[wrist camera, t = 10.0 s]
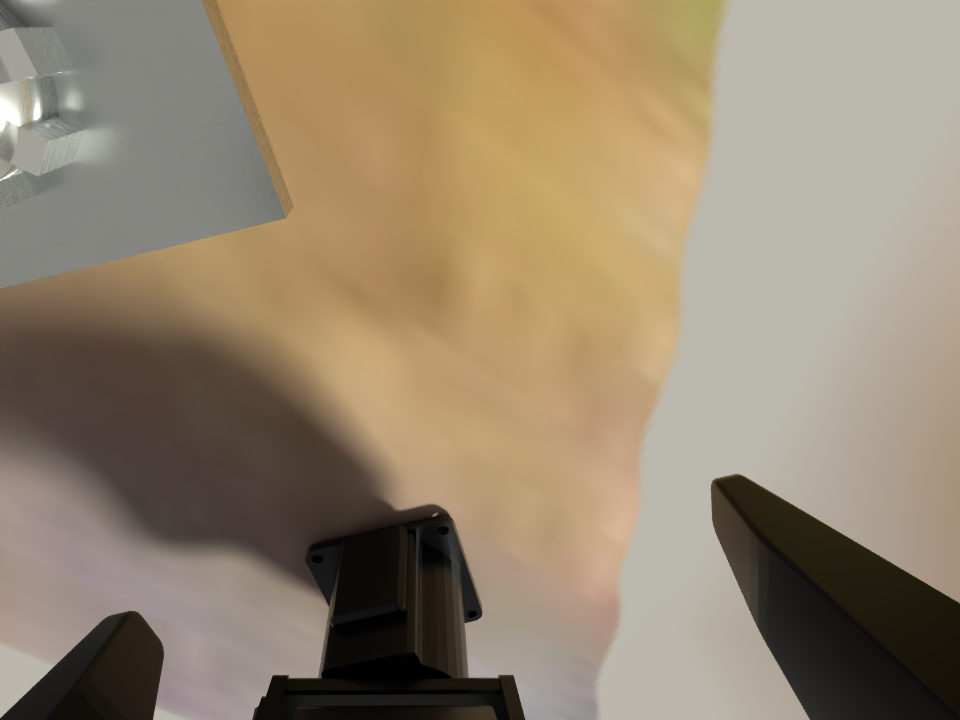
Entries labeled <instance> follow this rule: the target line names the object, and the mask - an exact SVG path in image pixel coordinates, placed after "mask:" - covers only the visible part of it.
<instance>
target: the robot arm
mask: <svg viewBox="0 0 960 720" xmlns="http://www.w3.org/2000/svg"><path fill="white" fill-rule="evenodd" d="M711 500H712V521H713V525H714V529H715V532H716V535H717V537H718V539H719V542H720V544H721V546H722V548H723V551H724V553H725V555H726V557H727V560H728V562H729V564H730V567H731V569H732V571H733V573H734V576H735V578H736V580H737V582H738V585H739V587H740V589H741V592H742V594H743V596H744V598H745V601H746V603H747V605H748V607H749V610H750V612H751V614H752V616H753V619H754V621H755V623H756V625H757V627H758V629H759V631H760V633H761V635H762V637H763V639H764V640H765V642H766V644H767V646H768V648H769V649H770V651H771V653H772V655H773V656H774V658H775V660H776V661H777V663H778V665H779V667H780V668H781V670H782V672H783V674H784V675H785V677H786V679H787V680H788V682H789V684H790V686H791V687H792V689H793V691H794V693H795V694H796V696H797V698H798V700H799V701H800V703H801V705H802V706H803V708H804V710H805V712H806V713H807V715H808V717H809V719H810V720H960V603H959V602H957V601H955V600H953V599H951V598H950V597H948V596H946V595H945V594H943V593H942V592H940V591H938V590H936V589H934V588H933V587H931V586H930V585H928V584H926V583H924V582H923V581H921V580H919V579H918V578H916V577H914V576H913V575H911V574H909V573H908V572H906V571H904V570H902V569H900V568H899V567H897V566H896V565H894V564H892V563H891V562H889V561H887V560H886V559H884V558H882V557H880V556H879V555H877V554H875V553H874V552H872V551H870V550H869V549H867V548H865V547H863V546H862V545H860V544H858V543H857V542H855V541H853V540H852V539H850V538H848V537H846V536H845V535H843V534H841V533H840V532H838V531H836V530H835V529H833V528H831V527H829V526H828V525H826V524H824V523H823V522H821V521H819V520H818V519H816V518H814V517H813V516H811V515H809V514H807V513H806V512H804V511H802V510H801V509H799V508H797V507H796V506H794V505H792V504H790V503H789V502H787V501H785V500H784V499H782V498H780V497H779V496H777V495H775V494H773V493H772V492H770V491H768V490H767V489H765V488H763V487H762V486H760V485H758V484H756V483H755V482H753V481H751V480H750V479H748V478H746V477H745V476H742V475H739V474H734V475H729V476H725V477H720V478H716V479H714V480H713V481H712V484H711ZM441 526H445V528H439V527H441ZM316 555H321V556H316ZM305 559H306V563H307V564H308V566H309V568H310V570H311V572H312V574H313V576H314V578H315V580H316V582H317V584H318V586H319V588H320V589H321V591H322V593H323V595H324V597H325V599H326V601H327V603H328V605H329V607H330V608H329V614H328V620H327V626H326V633H325V639H324V645H323V652H322V658H321V664H320V670H319V677H318V678H289V675H273V677H272V679H271V683H270V686H269V689H268V692H267V695H266V697H262V698H261V701H260V704H259V706H258V707H257V708H255V711H254V715H253V719H252V720H525V717H524V713H523V709H522V706H521V702H520V698H519V694H518V690H517V687H516V683H515V679H514V676H513V675H499V676H498V678H469V676H468V662H467V648H466V634H465V623H467V622H472V621H475V620H478V619H479V618H481V616H482V605H481V602H480V599H479V596H478V593H477V590H476V587H475V584H474V581H473V578H472V575H471V572H470V569H469V566H468V563H467V560H466V557H465V554H464V551H463V548H462V545H461V542H460V538H459V535H458V532H457V529H456V526H455V523H454V521H453V519H452V518H451V517H449V516H446V515H439V516H435V517H430V518H426V519H422V520H417V521H413V522H408V523H404V524H400V525H395V526H391V527H386V528H382V529H378V530H373V531H369V532H364V533H360V534H356V535H351V536H347V537H342V538H338V539H334V540H329V541H325V542H320V543H316V544H313V545H311V546H310V547H308V549H307V553H306V557H305ZM472 610H473V611H472ZM163 659H164V650H163V645H162V643H161V641H160V639H159V638H158V637H157V635H156V634H155V633H154V631H153V630H152V629H151V627H150V626H149V625H148V623H147V622H146V621H145V620H144V618H143V617H142V616H141V615H140V614H139V613H138V612H135V611H128V612H123V613H119V614H115V615H111V616H108V617H106V618H105V619H104V620H102V621H101V622H100V623H99V624H98V625H97V626H96V627H95V628H94V629H93V630H92V631H91V632H90V633H89V634H88V635H87V636H86V637H85V638H84V639H83V640H81V641H80V642H79V643H78V644H77V645H76V646H75V647H74V648H73V649H72V650H71V651H70V652H69V653H68V654H67V655H66V656H65V657H64V658H63V659H62V660H61V661H60V662H59V663H57V664H56V665H55V666H54V667H53V668H52V669H51V670H50V671H49V672H48V673H47V674H46V675H45V676H44V677H43V678H42V679H41V680H40V681H39V682H38V683H37V684H36V685H35V686H33V687H32V688H31V690H30V691H28V692H27V693H26V694H25V695H24V696H23V697H22V698H21V699H20V700H19V701H18V702H17V703H16V704H15V705H14V706H13V707H12V708H10V709H9V710H8V711H7V712H6V713H5V714H4V715H3V716H2V717H1V718H0V720H153V716H154V710H155V705H156V699H157V693H158V688H159V682H160V676H161V671H162V665H163Z"/></svg>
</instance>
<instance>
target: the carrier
mask: <svg viewBox="0 0 960 720" xmlns="http://www.w3.org/2000/svg"><path fill="white" fill-rule="evenodd" d="M292 209H293V205H292V203H291V200H290V197H289V195H288V192H287V189H286V187H285V184H284V182H283V179H282V176H281V174H280V171H279V168H278V166H277V163H276V160H275V158H274V155H273V152H272V150H271V147H270V145H269V142H268V139H267V137H266V134H265V131H264V129H263V126H262V123H261V121H260V118H259V115H258V113H257V110H256V108H255V105H254V102H253V100H252V97H251V94H250V92H249V89H248V86H247V84H246V81H245V78H244V76H243V73H242V71H241V68H240V65H239V63H238V60H237V57H236V55H235V52H234V49H233V47H232V44H231V41H230V39H229V36H228V34H227V31H226V28H225V26H224V23H223V20H222V18H221V15H220V12H219V10H218V7H217V5H216V2H215V0H0V289H1V288H5V287H9V286H13V285H17V284H21V283H25V282H29V281H33V280H37V279H41V278H45V277H49V276H53V275H57V274H61V273H65V272H69V271H74V270H78V269H82V268H86V267H90V266H94V265H98V264H102V263H106V262H110V261H114V260H118V259H122V258H126V257H130V256H134V255H138V254H142V253H146V252H150V251H155V250H159V249H163V248H167V247H171V246H175V245H179V244H183V243H187V242H191V241H195V240H199V239H203V238H207V237H211V236H215V235H219V234H223V233H227V232H231V231H236V230H240V229H244V228H248V227H252V226H256V225H260V224H264V223H268V222H272V221H276V220H280V219H284V218H286V217H287V216H288V214H289V213H290V212H291V210H292Z"/></svg>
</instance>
